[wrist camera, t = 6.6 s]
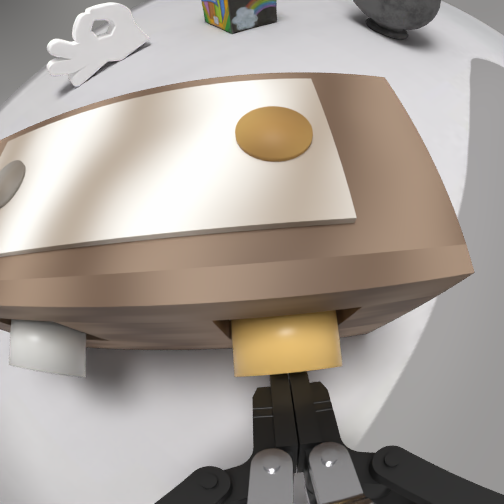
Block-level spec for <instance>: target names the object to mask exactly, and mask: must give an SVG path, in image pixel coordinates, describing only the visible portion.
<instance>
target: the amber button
mask: <svg viewBox="0 0 504 504" xmlns="http://www.w3.org/2000/svg"><path fill="white" fill-rule="evenodd" d="M231 325H232V343H233V361H234V377H244V376H260V375H272V374H283V373H293V372H302V371H311V370H319V369H326V368H333V367H340V366H342V356H341V347H340V339H339V331H338V323H337V316H336V310H332V311H323V312H314V313H305V314H295V315H284V316H273V317H260V318H247V319H232V320H231Z"/></svg>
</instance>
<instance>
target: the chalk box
mask: <svg viewBox="0 0 504 504" xmlns="http://www.w3.org/2000/svg"><path fill="white" fill-rule="evenodd" d="M202 6H203V11H204V17H205V22H208V23H210V24H212V25H214V26H216V27H219V28H221V29H223V30H225V31H227V32H229V33H231V34H233V33H235V32H238V31H241V30H245V29H249V28H252V27H256V26H260V25H264V24H269V23H274V22H276V21H277V15H276V0H202Z"/></svg>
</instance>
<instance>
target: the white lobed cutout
mask: <svg viewBox="0 0 504 504" xmlns="http://www.w3.org/2000/svg"><path fill="white" fill-rule="evenodd" d="M94 20H107V21H108V22H109V27H108V30H107V32H106V33H104V34H100V35H97V36H96V35H95V34H94V33H93V32H92V31H91V29H92V25H93V22H94ZM72 36H73V39H74V40H75V41H73V42H68V41H65V40H61V39H53V40H51V41H50V42H49V43H48V45H47V50H48V52H49V53H50V54H51V55H53V56H56V57H60V58H55V59H52V60H51V61H49V62H48V64H47V70H48V72H49V73H50V75H51V76H61V75H66V74H68V79H69V80H70V81H71V83H72V84H73V85H74V86H77V87H78V86H81V85H82V84H83V83H84V82H85V81H86V80H87V79H89V78H90V77H91V76H92V75H93V74H94V73H95V72H97V71H98V70H99V69H100V68H101V67H102V66H103V65H104V64H105V63H106V62H108V61H121V60H123V59H124V58H125V57H127V56H128V55H129V54H131V53H132V52H133V51H135V50H136V49H137V48H139V47H140V46H141V45H143V44H144V43H145V42H147V41H148V40H149V39H150V37H148V36H147V35H146V34H145V33H144V32H143V31H142V30H141V29H140V28H139V26H138V25H137V24H136V22H135V21H134V19H133V16H132V13H131V10H130V9H129V8H128V7H126V6H124V5H122V4H118V3H112V2H110V3H104V4H99V5H96V6H92V7H89V8H87V9H86V10H85V13H81V14H79V15H78V16H77V18H76V20H75V22H74V26H73V30H72Z"/></svg>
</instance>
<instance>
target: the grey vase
mask: <svg viewBox="0 0 504 504" xmlns="http://www.w3.org/2000/svg"><path fill="white" fill-rule="evenodd" d="M353 1H354V3H355V4H356V5H357V6H358V7H359V8H360V9H361V10H362V11H363V12H364V13H365V14H366V15H367V16H369V17H370V18H369V19H367V20H366V23H367V25H368V26H369V27H370V28H371V29H373V30H375V31H377V32H379V33H381V34H383V35H386V36H389V37H392V38H396V39H405V38H407V37H408V34H407V31H406V30H412V29H418V28H421V27H423V26H425V25H427V24H428V23H429V22H430V21H432V20H433V19H434V17H435V16H436V14H437V13H438V10H439V8H440V3H441V0H353Z"/></svg>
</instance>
